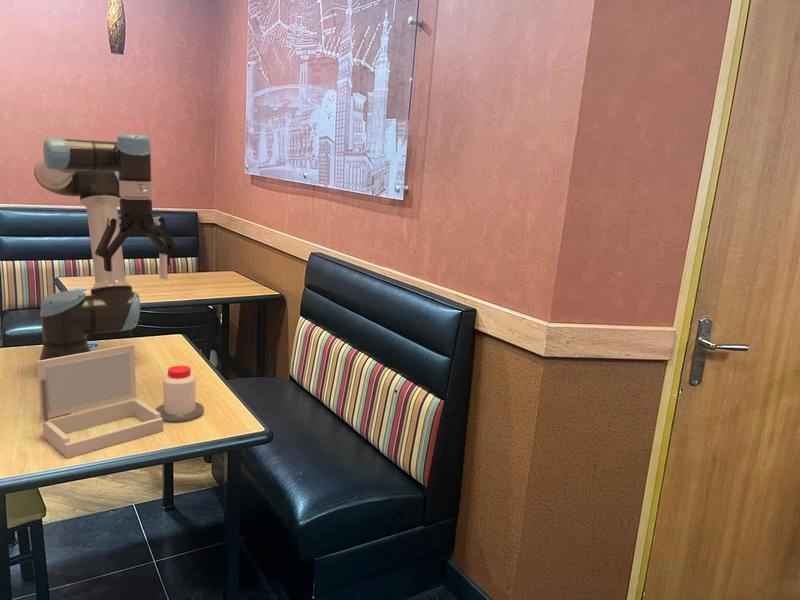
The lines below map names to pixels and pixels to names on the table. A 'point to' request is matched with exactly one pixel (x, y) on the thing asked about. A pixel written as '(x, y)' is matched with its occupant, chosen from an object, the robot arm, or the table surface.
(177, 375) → the pill bottle
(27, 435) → the table surface
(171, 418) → the saucer
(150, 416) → the box
